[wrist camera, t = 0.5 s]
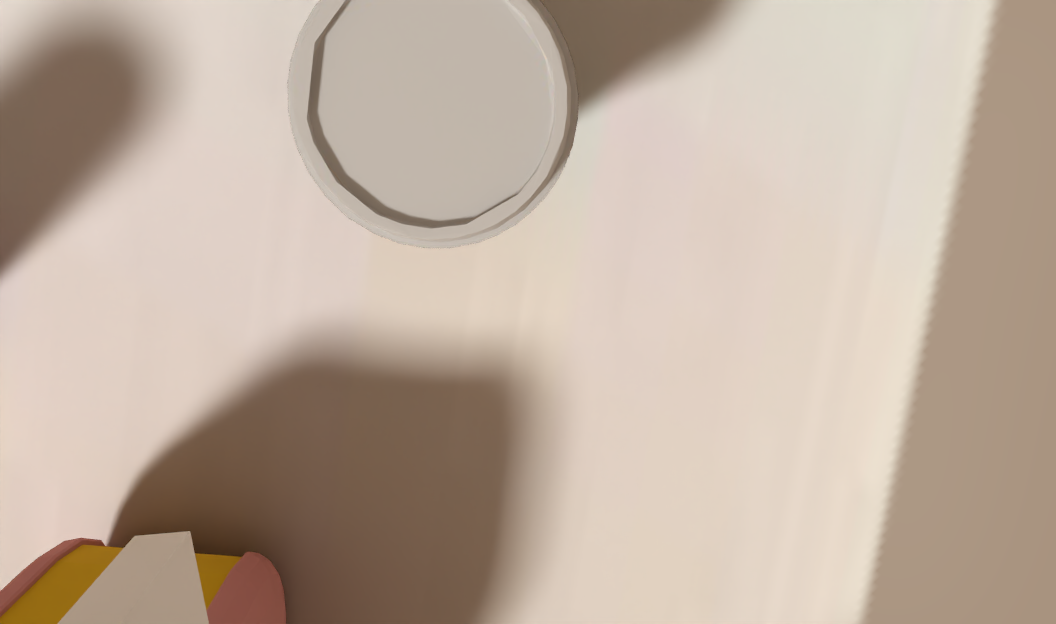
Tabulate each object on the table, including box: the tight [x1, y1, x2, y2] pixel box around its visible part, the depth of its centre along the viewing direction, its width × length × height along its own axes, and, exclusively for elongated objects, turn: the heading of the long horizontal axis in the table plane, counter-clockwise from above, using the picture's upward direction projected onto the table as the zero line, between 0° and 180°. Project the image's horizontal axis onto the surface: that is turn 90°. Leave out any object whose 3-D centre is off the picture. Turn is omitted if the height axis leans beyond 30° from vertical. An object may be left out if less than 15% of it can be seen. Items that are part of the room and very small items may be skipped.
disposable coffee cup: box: [288, 0, 578, 248], centre depth 29 cm, size 10×10×12 cm
